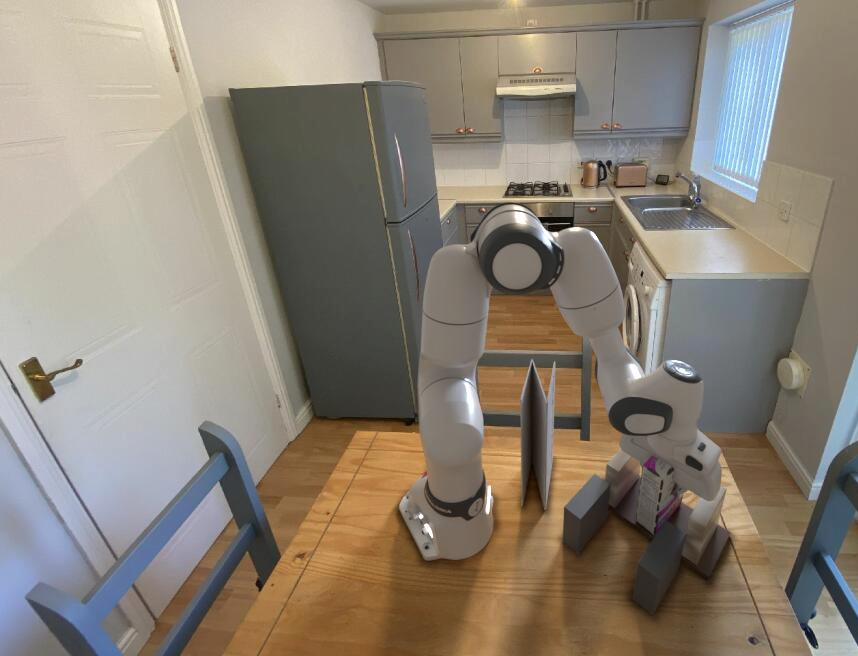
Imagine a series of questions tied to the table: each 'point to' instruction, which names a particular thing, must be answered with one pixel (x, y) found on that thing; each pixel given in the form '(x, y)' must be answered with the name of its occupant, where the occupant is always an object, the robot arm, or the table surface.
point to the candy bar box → (656, 495)
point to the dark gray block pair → (656, 561)
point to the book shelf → (697, 523)
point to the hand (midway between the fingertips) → (662, 486)
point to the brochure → (537, 431)
